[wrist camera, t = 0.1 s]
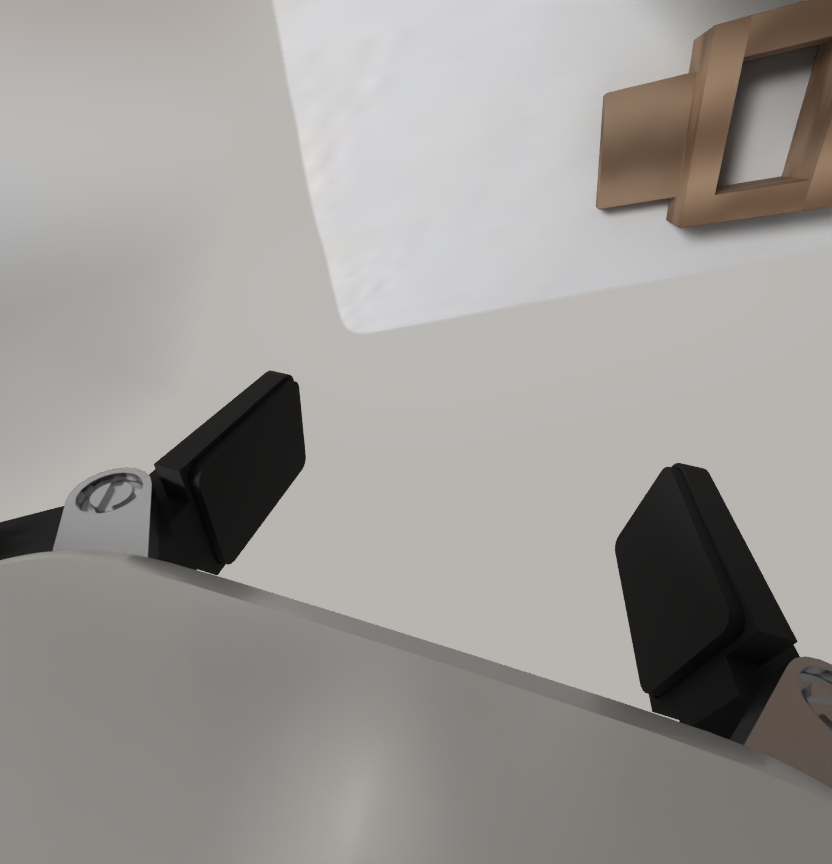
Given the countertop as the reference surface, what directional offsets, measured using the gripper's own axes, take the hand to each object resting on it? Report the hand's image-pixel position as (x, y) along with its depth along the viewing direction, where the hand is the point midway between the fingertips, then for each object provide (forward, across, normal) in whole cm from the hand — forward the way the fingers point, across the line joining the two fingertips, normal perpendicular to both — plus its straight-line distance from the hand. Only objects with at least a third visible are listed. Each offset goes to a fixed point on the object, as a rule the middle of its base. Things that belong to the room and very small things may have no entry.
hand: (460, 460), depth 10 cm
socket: (+37, -16, -10) cm, 41 cm away
